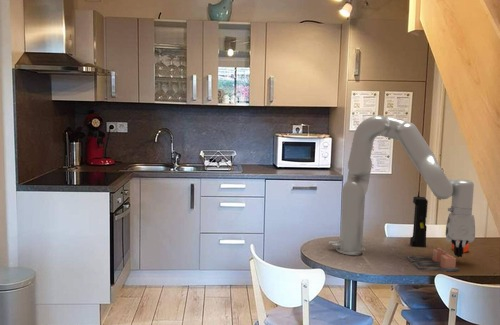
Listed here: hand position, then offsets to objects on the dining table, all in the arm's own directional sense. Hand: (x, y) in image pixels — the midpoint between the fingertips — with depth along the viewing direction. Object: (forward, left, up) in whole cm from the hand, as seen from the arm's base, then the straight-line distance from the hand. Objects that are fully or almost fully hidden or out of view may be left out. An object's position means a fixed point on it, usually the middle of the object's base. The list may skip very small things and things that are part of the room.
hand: (458, 255), depth 181 cm
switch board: (-12, -4, -4) cm, 13 cm away
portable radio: (-7, +24, -4) cm, 26 cm away
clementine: (+8, +16, -4) cm, 19 cm away
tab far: (-7, 0, -3) cm, 8 cm away
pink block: (-7, -7, -3) cm, 11 cm away
